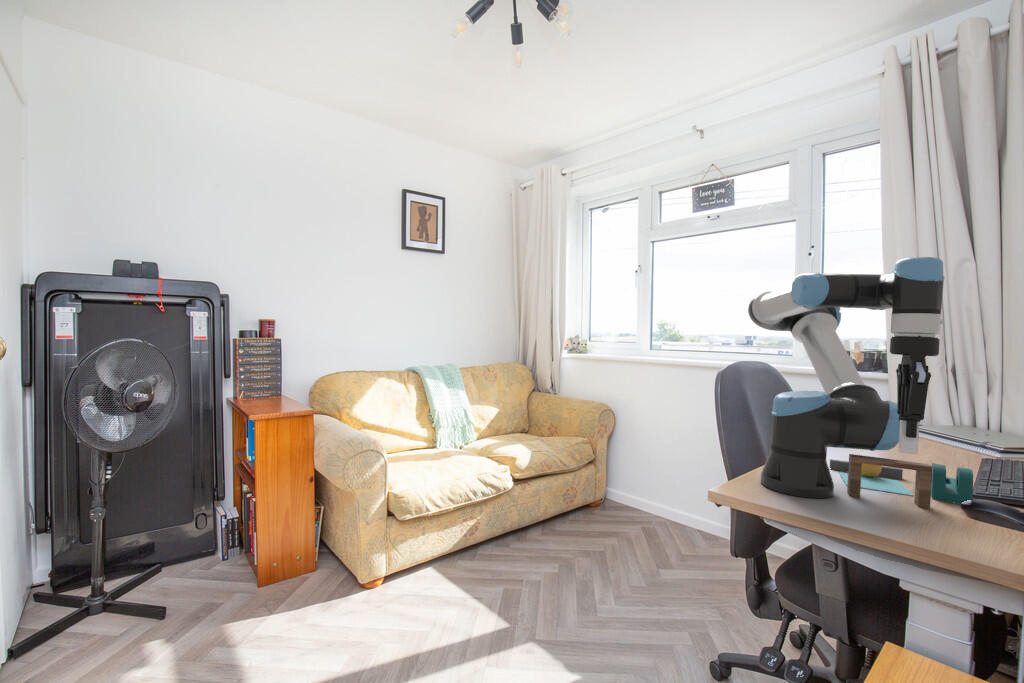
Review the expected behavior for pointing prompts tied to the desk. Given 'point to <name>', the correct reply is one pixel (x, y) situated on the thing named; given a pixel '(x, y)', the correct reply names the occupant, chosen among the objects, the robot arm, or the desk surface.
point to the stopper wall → (884, 472)
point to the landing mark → (879, 484)
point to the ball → (870, 470)
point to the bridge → (922, 469)
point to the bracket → (951, 484)
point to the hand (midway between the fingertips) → (907, 452)
